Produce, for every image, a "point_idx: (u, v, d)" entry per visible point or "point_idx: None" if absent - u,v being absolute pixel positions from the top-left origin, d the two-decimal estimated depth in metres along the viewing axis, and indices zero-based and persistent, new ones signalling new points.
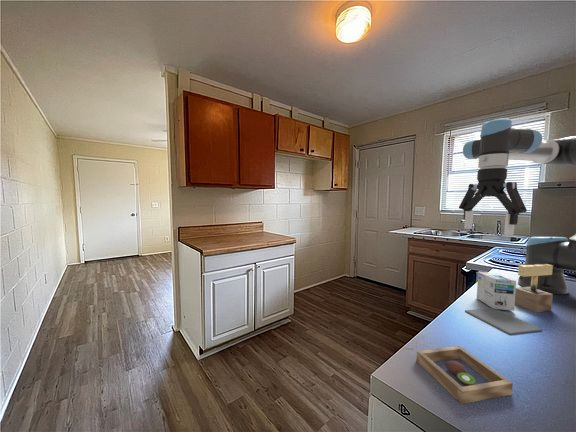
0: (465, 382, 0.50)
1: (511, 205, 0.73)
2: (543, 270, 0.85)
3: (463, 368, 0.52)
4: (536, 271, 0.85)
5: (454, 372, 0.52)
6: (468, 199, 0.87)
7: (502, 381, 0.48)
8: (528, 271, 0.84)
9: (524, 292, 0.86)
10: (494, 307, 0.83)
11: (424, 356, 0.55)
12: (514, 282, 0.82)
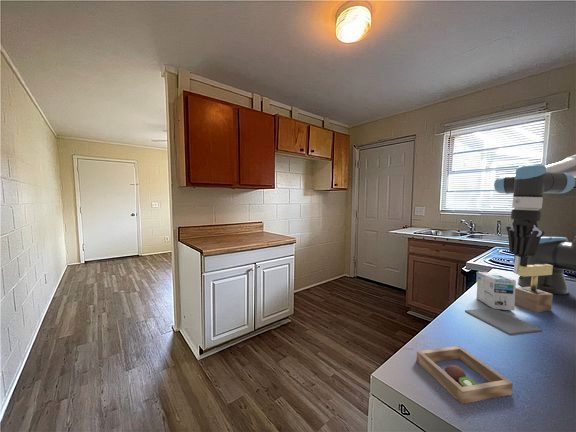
0: None
1: None
2: (543, 270, 0.85)
3: (463, 372, 0.51)
4: (536, 271, 0.85)
5: (455, 377, 0.51)
6: (514, 241, 0.89)
7: (502, 381, 0.48)
8: (528, 271, 0.84)
9: (524, 292, 0.86)
10: (494, 307, 0.83)
11: (424, 356, 0.55)
12: (514, 282, 0.82)
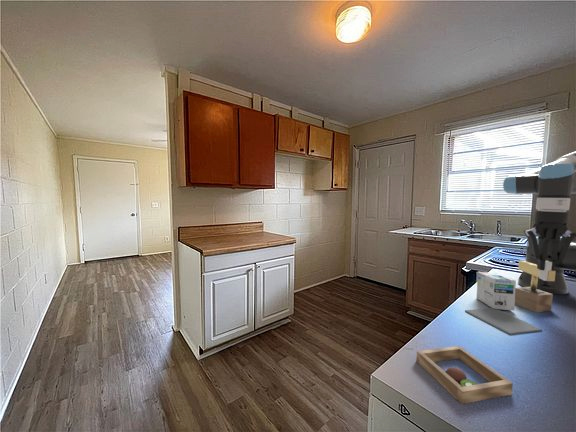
0: None
1: None
2: None
3: (464, 375, 0.50)
4: None
5: (456, 380, 0.50)
6: None
7: (502, 381, 0.48)
8: None
9: (524, 292, 0.86)
10: (494, 307, 0.83)
11: (424, 356, 0.55)
12: (514, 282, 0.82)
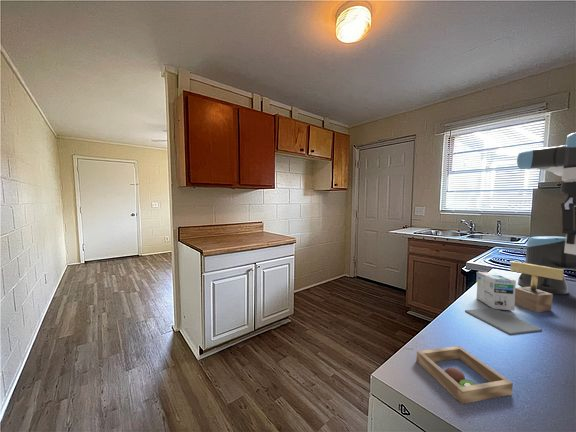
0: None
1: None
2: None
3: (462, 375, 0.50)
4: None
5: (455, 380, 0.50)
6: None
7: (502, 381, 0.48)
8: None
9: (524, 292, 0.86)
10: (494, 307, 0.83)
11: (424, 356, 0.55)
12: (514, 282, 0.82)
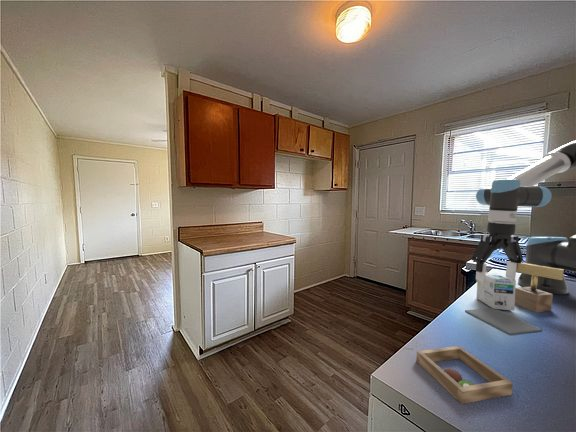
0: None
1: None
2: None
3: (460, 375, 0.50)
4: None
5: None
6: None
7: (502, 381, 0.48)
8: None
9: (524, 292, 0.86)
10: (494, 307, 0.83)
11: (424, 356, 0.55)
12: (514, 282, 0.82)
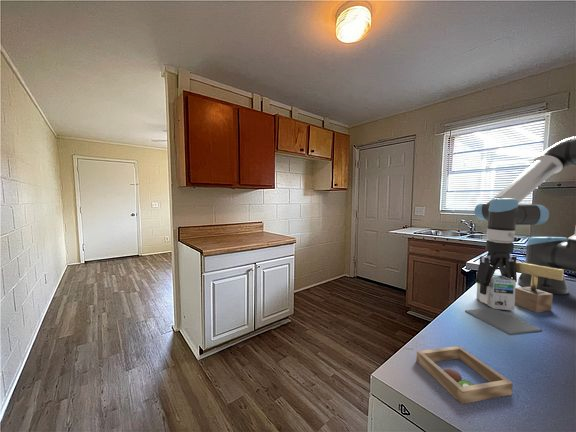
0: None
1: None
2: None
3: (459, 375, 0.50)
4: None
5: None
6: None
7: (502, 381, 0.48)
8: None
9: (524, 292, 0.86)
10: (494, 307, 0.83)
11: (424, 356, 0.55)
12: (514, 282, 0.82)
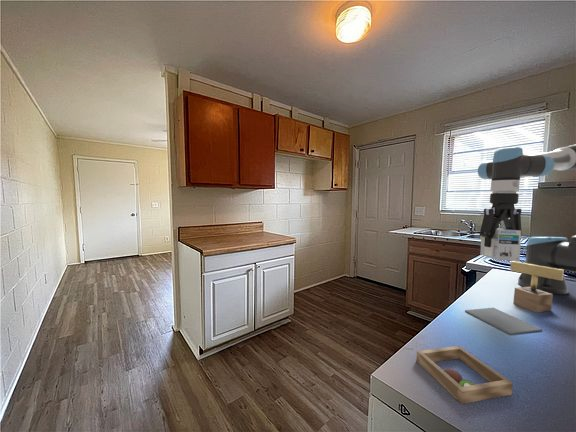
0: None
1: None
2: None
3: (460, 375, 0.50)
4: None
5: None
6: None
7: (502, 381, 0.48)
8: None
9: (524, 292, 0.86)
10: (499, 258, 0.82)
11: (424, 356, 0.55)
12: (519, 232, 0.80)
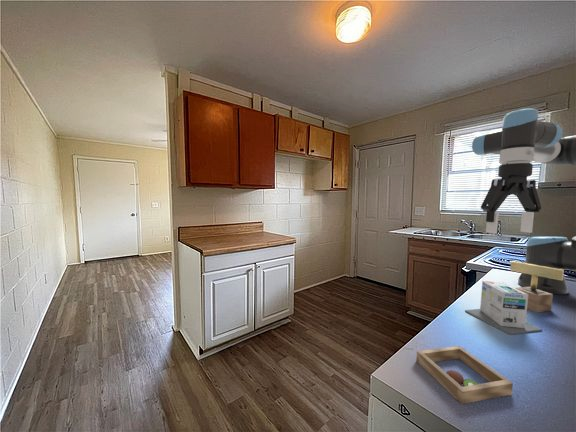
0: None
1: None
2: None
3: (461, 375, 0.50)
4: None
5: None
6: None
7: (502, 381, 0.48)
8: None
9: (524, 292, 0.86)
10: (502, 324, 0.72)
11: (424, 356, 0.55)
12: (526, 296, 0.70)
